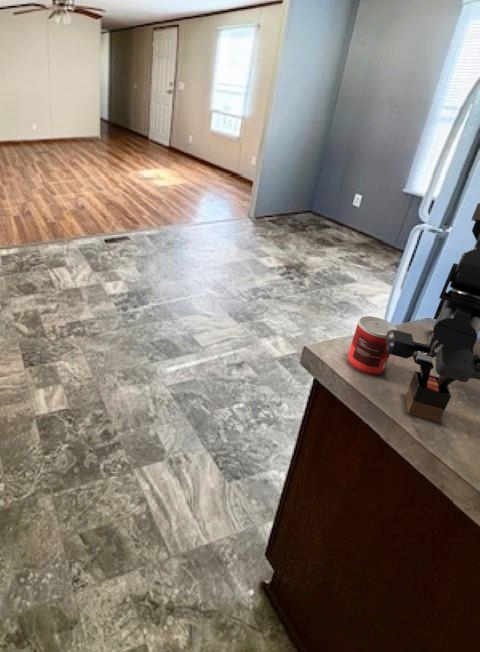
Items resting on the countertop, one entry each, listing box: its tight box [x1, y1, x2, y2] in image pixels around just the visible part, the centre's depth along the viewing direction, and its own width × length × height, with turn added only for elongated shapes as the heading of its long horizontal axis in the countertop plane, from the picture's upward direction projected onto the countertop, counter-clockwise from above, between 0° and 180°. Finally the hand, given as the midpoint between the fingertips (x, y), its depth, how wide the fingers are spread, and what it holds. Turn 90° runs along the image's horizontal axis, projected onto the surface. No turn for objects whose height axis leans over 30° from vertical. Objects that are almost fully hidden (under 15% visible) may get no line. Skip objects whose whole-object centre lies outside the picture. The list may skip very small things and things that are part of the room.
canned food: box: [347, 315, 398, 375], centre depth 98 cm, size 8×8×11 cm
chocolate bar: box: [425, 377, 439, 391], centre depth 85 cm, size 4×2×2 cm, turn 152°
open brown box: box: [409, 370, 452, 411], centre depth 85 cm, size 5×5×4 cm
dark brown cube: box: [404, 384, 445, 424], centre depth 87 cm, size 5×5×4 cm
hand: (429, 388), depth 85 cm, fingers closed on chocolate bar, 2 cm apart
